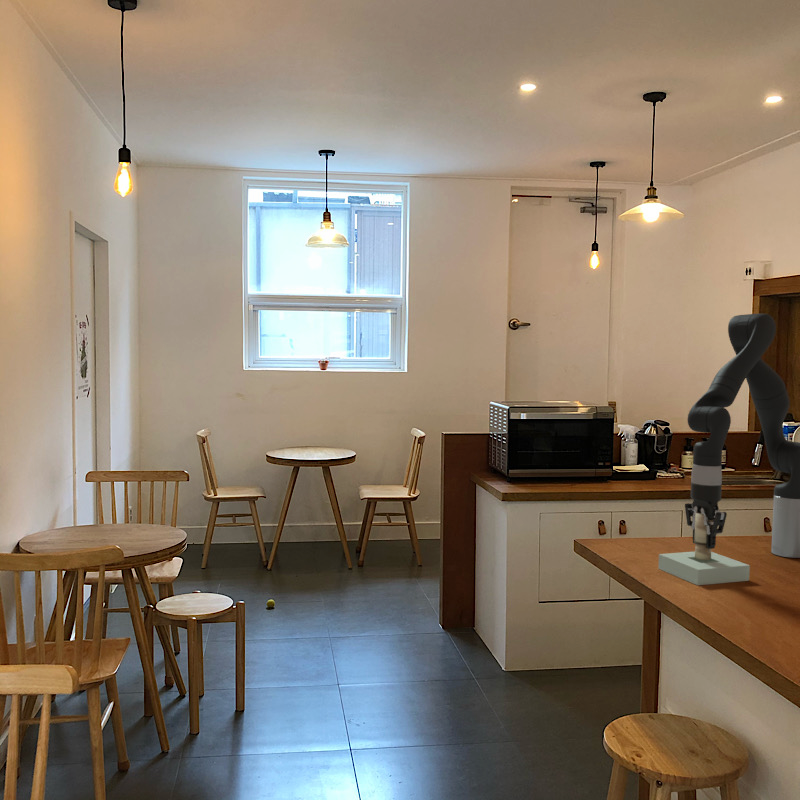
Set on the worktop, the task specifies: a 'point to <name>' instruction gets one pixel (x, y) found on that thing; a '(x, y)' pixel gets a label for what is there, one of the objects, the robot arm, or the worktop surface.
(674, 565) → the board
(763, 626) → the worktop surface
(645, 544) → the worktop surface
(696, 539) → the peg
